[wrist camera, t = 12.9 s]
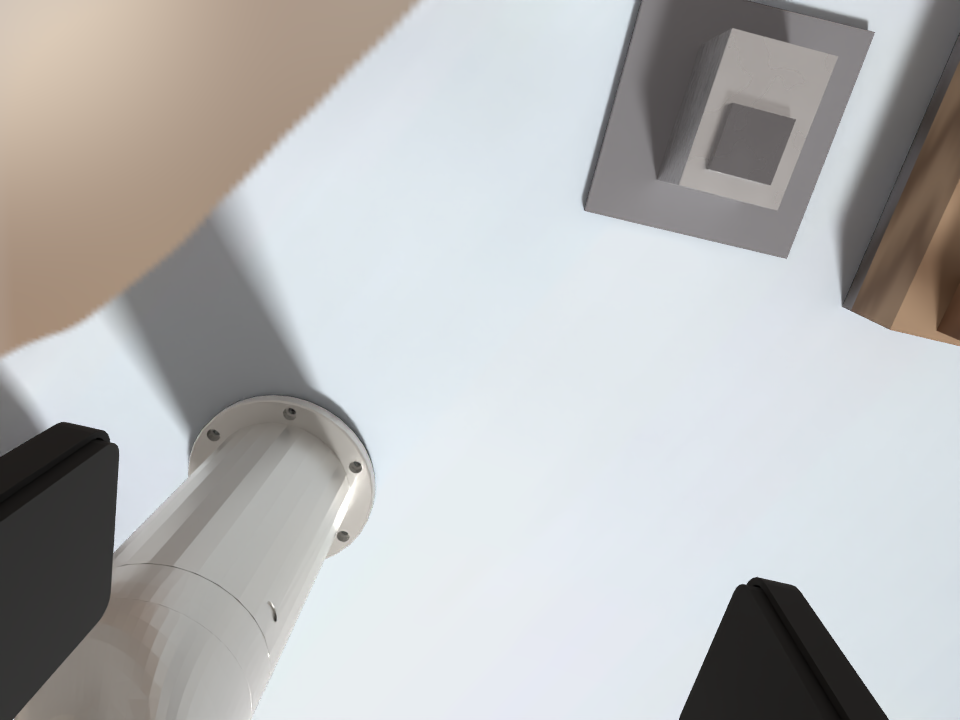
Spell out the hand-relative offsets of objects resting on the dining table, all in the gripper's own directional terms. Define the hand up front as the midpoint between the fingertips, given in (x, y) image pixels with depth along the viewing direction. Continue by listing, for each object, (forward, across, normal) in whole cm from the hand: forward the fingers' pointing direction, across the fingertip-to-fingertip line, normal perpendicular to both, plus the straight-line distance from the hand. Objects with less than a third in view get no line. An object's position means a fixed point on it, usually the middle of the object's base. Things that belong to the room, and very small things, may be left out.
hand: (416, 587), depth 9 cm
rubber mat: (+30, -11, -11) cm, 33 cm away
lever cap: (+29, -11, -11) cm, 33 cm away
